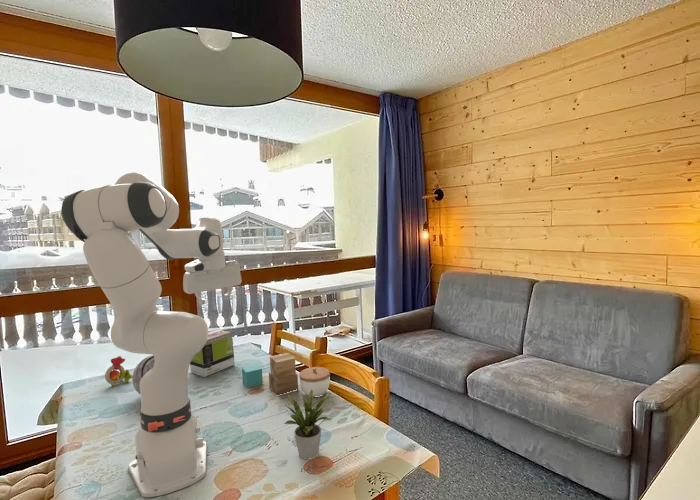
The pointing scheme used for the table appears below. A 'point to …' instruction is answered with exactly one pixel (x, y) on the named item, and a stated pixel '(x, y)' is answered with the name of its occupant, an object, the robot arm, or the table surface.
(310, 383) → the lidded jar
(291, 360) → the block
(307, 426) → the house plant
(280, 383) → the tower bottom
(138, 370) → the decorative orb
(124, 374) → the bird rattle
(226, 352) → the tea box
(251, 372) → the teal block
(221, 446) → the table surface
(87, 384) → the table surface
